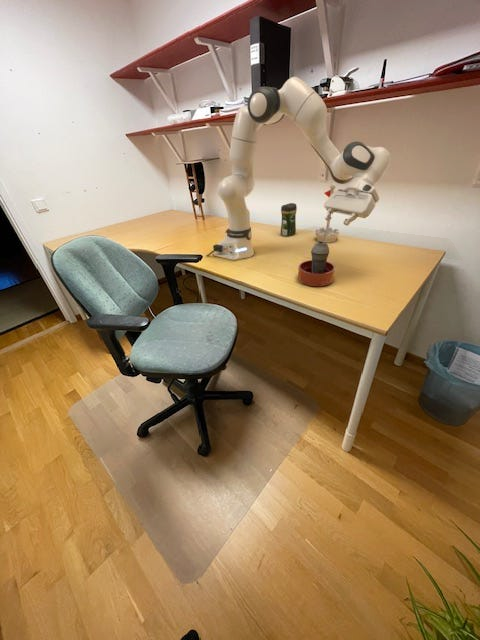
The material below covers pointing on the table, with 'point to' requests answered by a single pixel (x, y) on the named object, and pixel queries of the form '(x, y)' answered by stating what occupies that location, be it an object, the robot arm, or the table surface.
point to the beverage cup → (319, 256)
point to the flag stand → (330, 233)
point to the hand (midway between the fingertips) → (335, 222)
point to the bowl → (312, 278)
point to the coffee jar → (288, 219)
